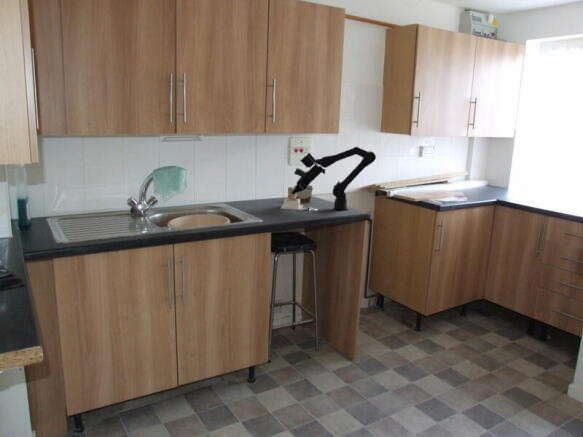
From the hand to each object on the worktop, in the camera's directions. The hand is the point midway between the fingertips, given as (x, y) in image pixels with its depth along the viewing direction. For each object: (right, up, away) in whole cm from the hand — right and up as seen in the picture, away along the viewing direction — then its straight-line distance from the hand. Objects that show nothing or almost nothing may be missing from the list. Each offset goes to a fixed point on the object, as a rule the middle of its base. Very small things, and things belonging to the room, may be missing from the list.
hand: (293, 192), depth 277 cm
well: (-1, -9, +2) cm, 9 cm away
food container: (+7, -5, +21) cm, 23 cm away
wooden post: (-1, -8, +2) cm, 8 cm away
